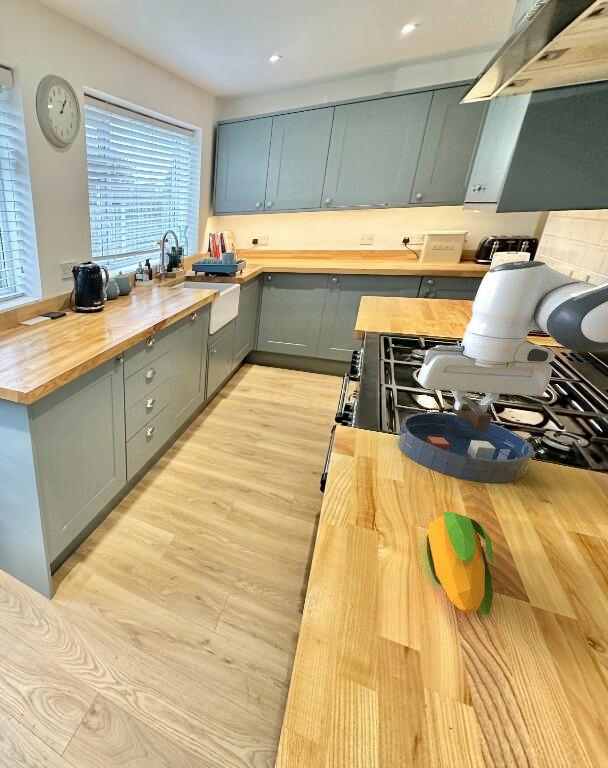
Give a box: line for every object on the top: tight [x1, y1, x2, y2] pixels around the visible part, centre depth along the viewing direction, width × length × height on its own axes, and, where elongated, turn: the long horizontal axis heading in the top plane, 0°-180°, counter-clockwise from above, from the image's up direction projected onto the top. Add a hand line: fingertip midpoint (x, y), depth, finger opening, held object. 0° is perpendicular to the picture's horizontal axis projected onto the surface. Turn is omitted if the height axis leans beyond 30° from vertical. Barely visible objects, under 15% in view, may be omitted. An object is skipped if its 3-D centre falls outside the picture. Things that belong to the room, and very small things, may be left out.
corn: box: [426, 511, 494, 616], centre depth 60 cm, size 7×8×20 cm
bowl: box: [396, 412, 535, 484], centre depth 90 cm, size 21×21×6 cm
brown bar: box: [451, 395, 493, 432], centre depth 86 cm, size 10×2×4 cm, turn 163°
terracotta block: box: [426, 436, 450, 451], centre depth 91 cm, size 3×3×3 cm
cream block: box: [468, 440, 496, 460], centre depth 89 cm, size 3×3×3 cm
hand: (469, 410), depth 87 cm, fingers closed on brown bar, 2 cm apart
